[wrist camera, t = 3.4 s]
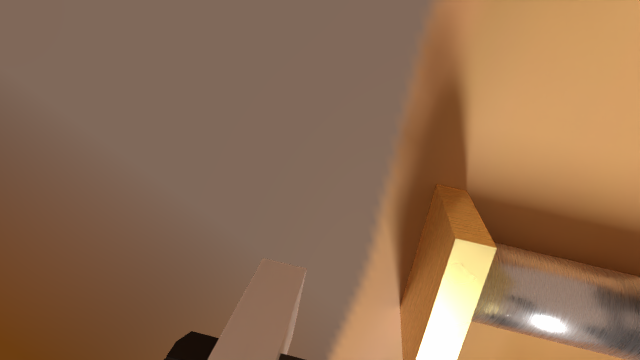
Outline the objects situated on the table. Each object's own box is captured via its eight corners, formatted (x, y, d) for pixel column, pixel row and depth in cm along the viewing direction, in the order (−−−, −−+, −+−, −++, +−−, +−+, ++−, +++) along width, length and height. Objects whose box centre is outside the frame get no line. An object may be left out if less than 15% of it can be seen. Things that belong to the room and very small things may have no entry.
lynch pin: (399, 307, 23) (404, 394, 18) (436, 183, 21) (455, 238, 15) (606, 358, 23) (681, 466, 17) (666, 236, 20) (775, 313, 15)
